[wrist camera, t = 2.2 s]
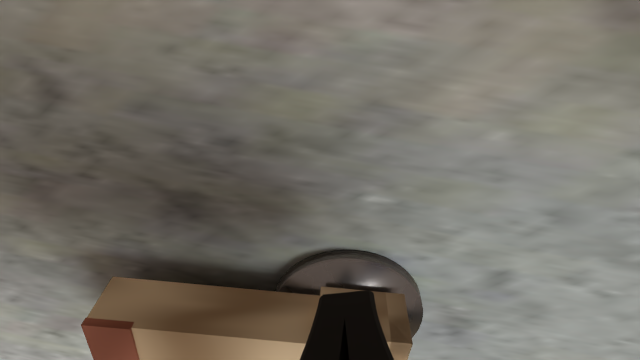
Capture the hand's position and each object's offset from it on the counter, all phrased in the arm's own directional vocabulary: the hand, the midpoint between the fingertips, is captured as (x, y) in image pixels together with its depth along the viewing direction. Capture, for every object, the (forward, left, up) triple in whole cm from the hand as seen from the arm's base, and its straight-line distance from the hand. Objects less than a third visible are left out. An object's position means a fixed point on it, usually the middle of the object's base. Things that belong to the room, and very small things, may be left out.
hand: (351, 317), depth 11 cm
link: (+4, -3, -3) cm, 6 cm away
